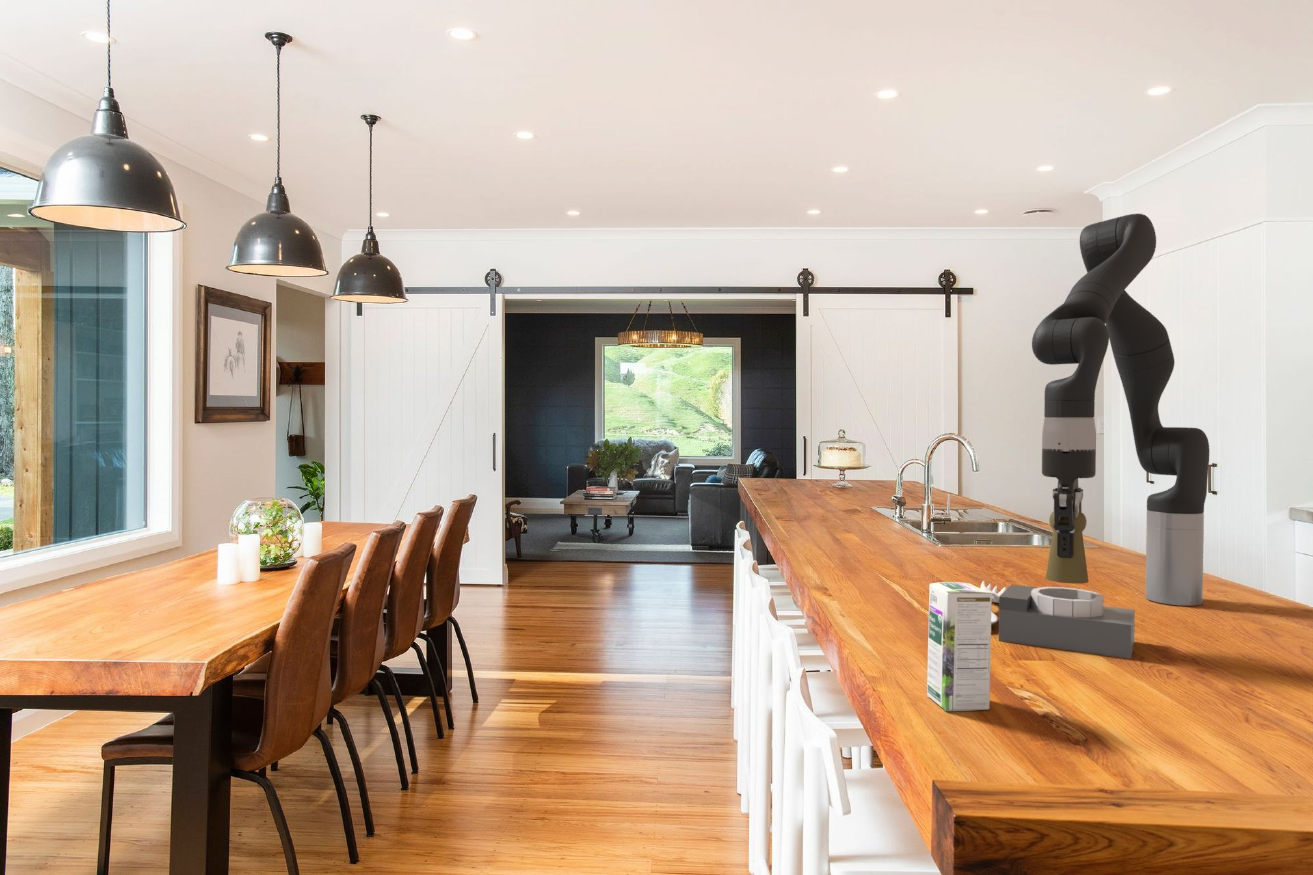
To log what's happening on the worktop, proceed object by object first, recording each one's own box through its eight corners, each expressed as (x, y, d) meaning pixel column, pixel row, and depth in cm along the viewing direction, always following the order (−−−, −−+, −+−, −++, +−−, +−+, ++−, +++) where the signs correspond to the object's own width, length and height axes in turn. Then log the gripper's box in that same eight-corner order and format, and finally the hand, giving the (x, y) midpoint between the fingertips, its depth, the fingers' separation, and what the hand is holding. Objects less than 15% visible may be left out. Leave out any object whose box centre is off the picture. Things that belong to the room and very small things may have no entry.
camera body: (1010, 625, 137) (1011, 581, 137) (1134, 641, 127) (1135, 593, 127) (998, 640, 128) (999, 593, 128) (1130, 659, 118) (1131, 607, 118)
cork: (1094, 584, 124) (1095, 512, 124) (1051, 582, 125) (1052, 511, 125) (1081, 577, 130) (1082, 508, 129) (1041, 575, 131) (1042, 507, 131)
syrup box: (925, 696, 103) (926, 581, 102) (970, 694, 103) (971, 581, 103) (945, 712, 97) (945, 591, 96) (992, 710, 97) (993, 590, 97)
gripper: (1048, 444, 135) (1047, 547, 135) (1035, 447, 123) (1034, 559, 123) (1099, 445, 131) (1098, 551, 131) (1091, 448, 119) (1090, 564, 119)
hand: (1067, 554), depth 127 cm, fingers closed on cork, 4 cm apart
